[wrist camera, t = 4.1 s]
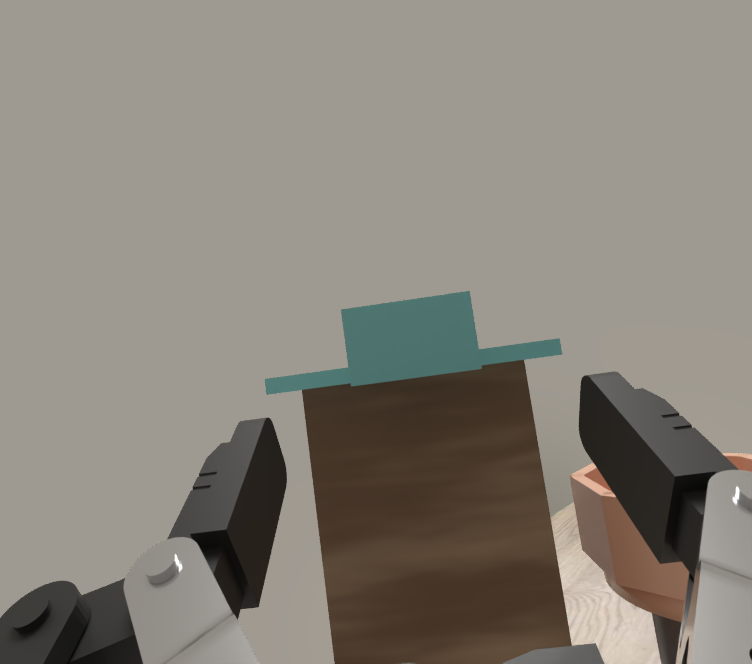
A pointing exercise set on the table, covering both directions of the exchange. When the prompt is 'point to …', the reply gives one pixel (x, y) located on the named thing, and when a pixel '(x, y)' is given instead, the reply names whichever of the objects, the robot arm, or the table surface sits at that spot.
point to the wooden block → (434, 519)
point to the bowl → (633, 555)
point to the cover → (411, 344)
